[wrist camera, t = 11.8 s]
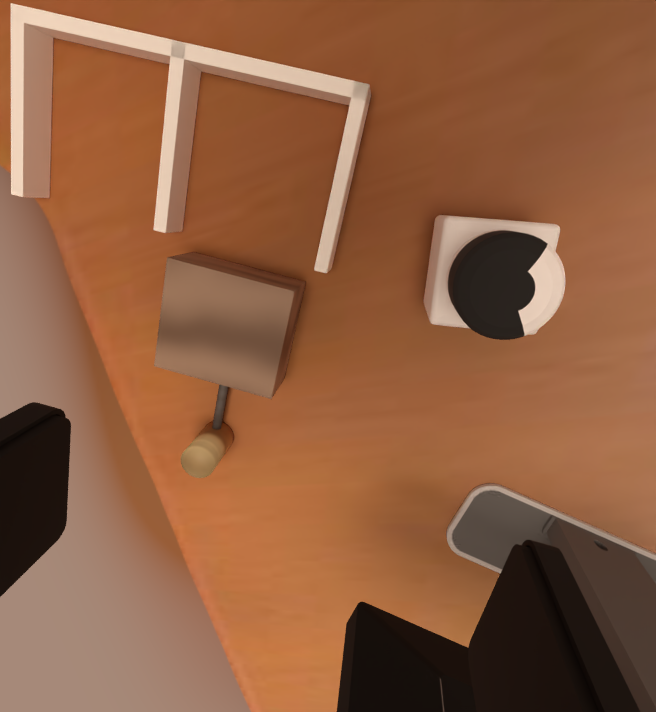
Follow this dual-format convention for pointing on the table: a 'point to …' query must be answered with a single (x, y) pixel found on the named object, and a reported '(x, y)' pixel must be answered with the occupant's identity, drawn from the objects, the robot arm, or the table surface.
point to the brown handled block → (225, 337)
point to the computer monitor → (491, 549)
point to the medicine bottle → (493, 275)
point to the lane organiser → (186, 65)
